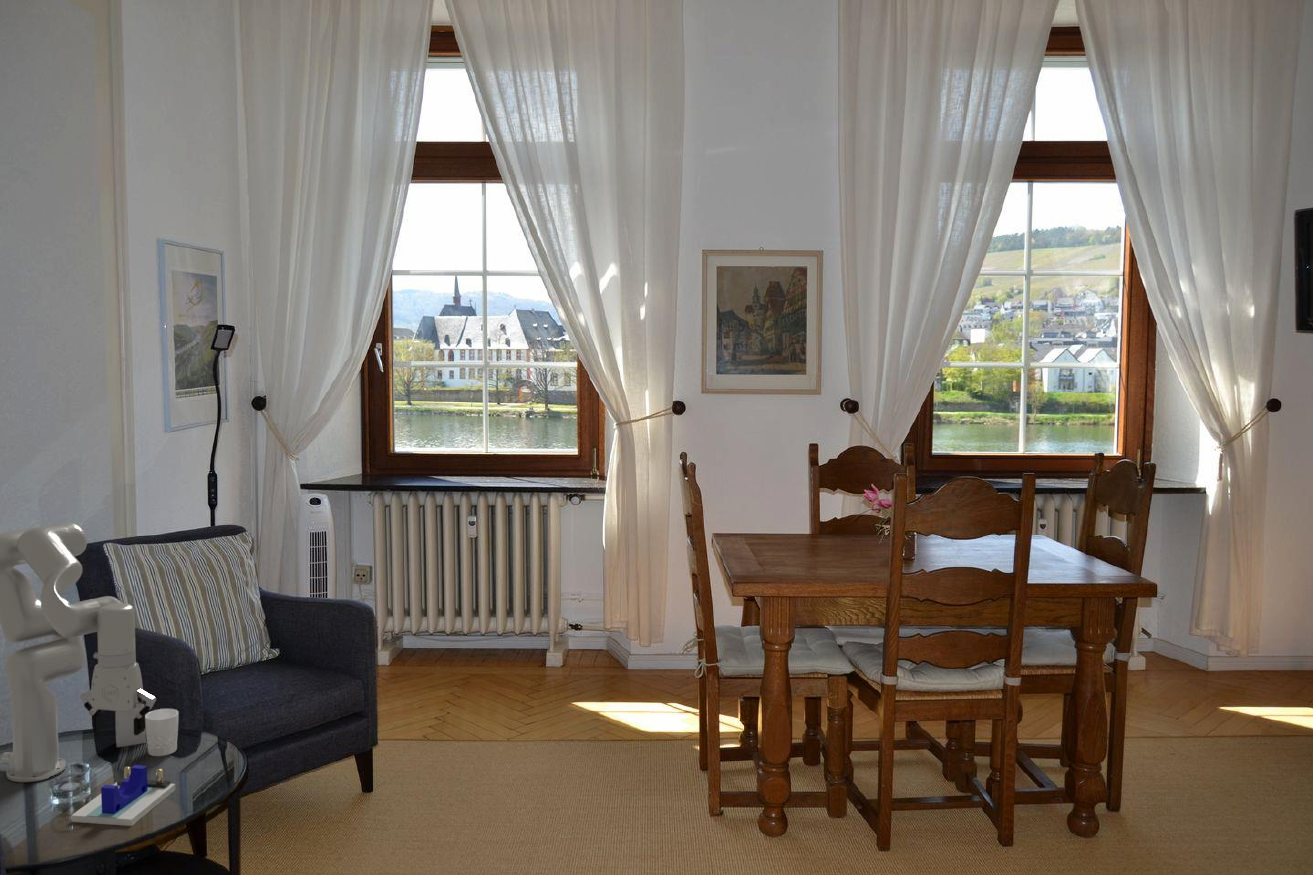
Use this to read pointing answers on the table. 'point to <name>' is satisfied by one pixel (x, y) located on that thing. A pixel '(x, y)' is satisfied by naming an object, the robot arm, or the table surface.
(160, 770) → the coat peg rack
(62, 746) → the table surface
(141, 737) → the grey box
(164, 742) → the white cup
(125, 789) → the blue curved stepped piece
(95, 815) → the board
